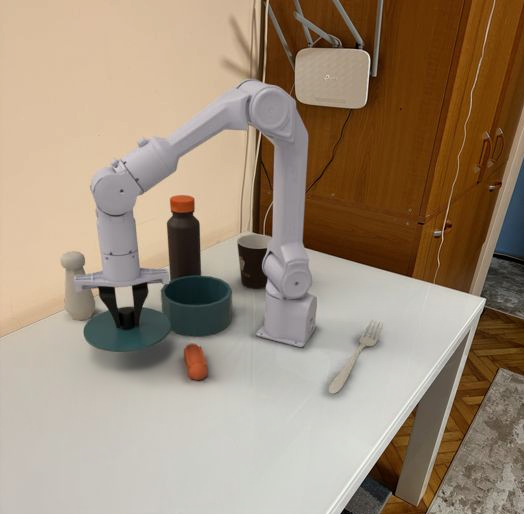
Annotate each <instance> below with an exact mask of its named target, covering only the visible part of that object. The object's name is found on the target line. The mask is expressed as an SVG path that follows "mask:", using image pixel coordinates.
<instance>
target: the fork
mask: <svg viewBox="0 0 524 514" xmlns="http://www.w3.org/2000/svg"><path fill="white" fill-rule="evenodd" d="M372 323H373V319H371V321H370V322H369V324H368V326H367V327H366V328H365V330H364V331H363V333H362V334H361V336H360V337H359V339H358V343H359V344H360V345H359V346H358V348H357V349H356V351H355V352H354V354H353V355H352V356H351V358H350V359H349V360H348V361H347V363H346V364H345V365H344V367H343V368H342V369H341V370H340V372H339V373H338V374H337V375H336V377H334V379H333V380H332V381H331V383H330V384H329V385H328V392H329V394H331V395H335V394H337V393H339V392H340V391H341V390H342V388H343V387H344V385H345V383H346V381H347V379H348V377H349V375H350V373H351V371H352V370H353V367H354V366H355V363H356V361H357V358H358V357H359V355H360V354H361V351H362V350H363V348H365V347H373V346H375V345H376V344H377V342H378V340H379V338H380V335H381V333H382V330H383V327H384V322H382V324H381V322H380V321H379V322H378V323H377V320H375V322H374V323H373V325H372ZM376 324H377V325H376ZM380 324H381V326H380ZM375 326H376V327H375ZM374 328H375V329H374ZM368 330H369V331H368ZM373 330H374V331H373ZM372 332H373V333H372ZM376 333H377V335H376ZM371 334H372V335H371ZM375 335H376V336H375ZM370 336H371V337H370ZM374 338H375V339H374Z"/></svg>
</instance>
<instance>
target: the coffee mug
mask: <svg viewBox="0 0 524 514" xmlns="http://www.w3.org/2000/svg"><path fill="white" fill-rule="evenodd" d="M271 239H272V236H270V235H266V234H261V233H250V234H244V235H242V236H240V237H238V238H237V240H236V244H237V245H236V246H237V252H238V253H237V255H238V263H239V271H240V281H241V282H240V283H241V285H242V286H243V287H245V288H249V289H254V290H260V289H266V285H267V281H268V277H267V276H266V275H265V274H264V272H263V269H262V262H263V259H264V257H265V255H266V253H267V244H268V242H269V241H270V240H271Z"/></svg>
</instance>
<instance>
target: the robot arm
mask: <svg viewBox="0 0 524 514" xmlns="http://www.w3.org/2000/svg"><path fill="white" fill-rule="evenodd" d="M249 126H251V127H254V128H255V129H256V130H258V131H259V132H260V134H262V136H264V137H265V138H266V139H267V141H269V142H270V143H271V144H272V145H273V147H274V148H273V149H274V150H273V186H272V187H273V189H272V190H273V192H272V193H273V194H272V230H271V231H272V232H271V233H272V235H271V237H272V239H271V240H270V241H269V242H268V244H267V253H266V255H265V257H264V259H263V262H262V269H263V272H264V274H265V275H266V276H267V277H268V281H267V285H266V287H265V298H264V299H265V300H264V303H265V304H264V319H263V321H264V322H263V325H262V326H261V327H260V328H259V329H258V331H256V332H255V335H256V337H259V338H263V339H267V340H271V341H275V342H278V343H283V344H285V345H290V346H294V347H297V348H304V346H305V345H306V344H307V342H308V341H309V340H310V338H311V336H312V335H313V333H314V332H315V330H316V318H317V308H318V297H317V296H316V295H315V294H314V295H313V294H311V293H309V290H310V289H311V287H312V284H313V275H312V272H311V270H310V267H309V262H310V259H309V255H308V253H307V251H306V247H305V245H304V242H303V240H304V223H305V204H306V203H305V202H306V188H307V187H306V186H307V166H308V152H309V133H308V130H307V128H306V126H305V124H304V122H303V119H302V117H301V115H300V113H299V112H298V109H297V101H296V99H295V98H293V97H292V96H291V95H290V94H289V93H288V92H287V91H285V90H284V89H283V88H281V87H280V86H278V85H273V84H268V83H265V82H262V81H260V80H259V79H256V78H247V79H243V80H242V81H240V82H239V83H238V84H236V86H235V87H231V88H229V89H226V90H225V91H224V92H222V93H221V94H220V95H219V96H218V97H217V98H215V99H214V100H213V101H211V102H210V103H209V104H208V105H206V106H205V107H204V108H202V109H201V110H200V111H199V112H197V113H196V114H195V115H194V116H192V117H191V118H189V119H188V120H187V121H186V122H184V123H183V124H182V125H180V126H179V127H178V128H177V129H175V130H174V131H173V132H172V133H170V134H168V136H166V137H160V136H155V135H154V136H153V135H152V136H150V137H149V138H146V137H145V136H142V137H141V138H140V139H138V140H137V141H136V144H137V145H138V146H136V147H135V148H134V149H132V150H130V151H129V152H128V153H126V154H125V155H123V156H122V157H120V158H119V159H117V158H113V159H112V160H110V161H109V164H110V165H111V166H104V167H101V168H99V169H98V170H96V171H95V172H94V174H93V175H92V178H91V180H90V184H89V190H90V193H91V194H92V196H93V201H94V202H95V209H94V211H95V216H96V221H95V222H96V230H97V238H98V246H99V252H100V259H101V260H100V261H101V267H102V270H99V271H93V272H90V273H85V275H78V276H75V277H74V283H75V289H76V292H81V291H83V289H91V290H92V289H93V290H94V289H98V297H99V299H100V300H101V302H102V303H103V304H104V305H105V307H106V308H107V311H108V310H109V311H110V313H111V315H112V317H113V319H114V321H115V324H116V328H121V325H120V318H119V312H118V308H119V307H118V304H117V303H118V302H117V295H116V288H126V287H127V288H128V287H131V293H132V301H133V307H134V321H135V326H139V320H140V314H141V310H142V307H144V304H145V303H146V300H147V298H148V296H149V285H152V284H153V285H155V284H161V285H165V284H169V281H170V272H169V271H168V268H151V267H150V268H148V267H141V265H140V255H139V245H138V235H137V224H136V219H135V217H134V216H135V215H134V207H135V205H136V202H137V199H138V197H139V196H142V195H144V194H145V193H147V192H148V191H149V190H151V189H152V188H154V187H155V186H157V185H158V184H160V183H161V182H163V181H164V180H165V179H166V178H168V177H170V176H172V175H173V174H174V173H176V172H177V169H178V165H179V164H178V163H179V160H180V158H181V157H184V156H185V155H187V154H188V153H189V152H191V151H193V150H194V149H197V148H198V147H199V146H201V145H203V144H204V143H206V142H207V141H209V140H210V139H212V138H214V137H215V136H217V135H218V134H220V133H222V132H223V131H225V130H228V131H229V130H230V131H245V132H247V131H249V130H250V127H249Z"/></svg>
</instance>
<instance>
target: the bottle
mask: <svg viewBox="0 0 524 514" xmlns="http://www.w3.org/2000/svg"><path fill="white" fill-rule="evenodd" d="M195 202H196V201H195V197H193V196H192V195H188V194H187V195H186V194H179V195H178V194H177V195H173V196H171V197H170V198H169V207H170V212H171V214H172V215H171V217H170V218H169V219H168V220H167V221H166V233H167V246H168V247H167V249H168V264H169V265H168V266H169V267H168V268H169V281H171V280H173V279H176V278H180V277H184V276H195V275H200V276H202V256H201V254H202V253H201V226H200V225H201V224H200V220H199V219H198V218H197V217H196V216H195V215H194V213H195V210H196V207H195V205H196V204H195Z"/></svg>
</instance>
